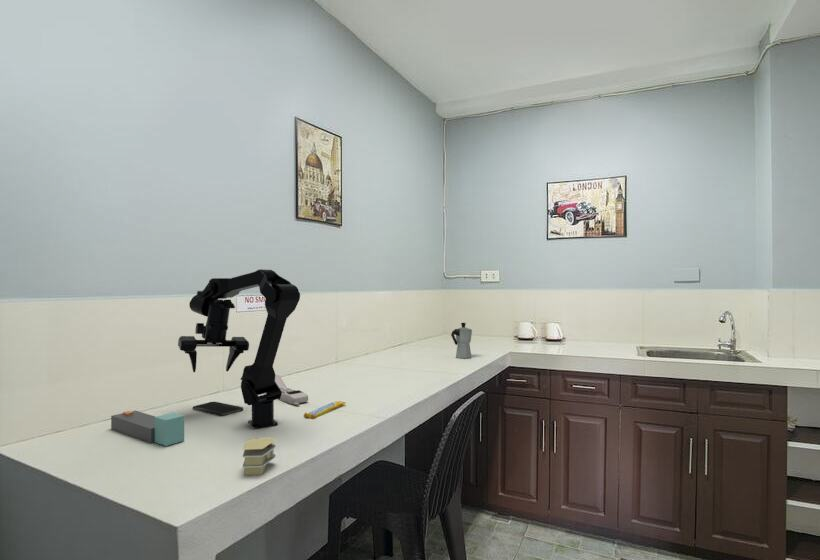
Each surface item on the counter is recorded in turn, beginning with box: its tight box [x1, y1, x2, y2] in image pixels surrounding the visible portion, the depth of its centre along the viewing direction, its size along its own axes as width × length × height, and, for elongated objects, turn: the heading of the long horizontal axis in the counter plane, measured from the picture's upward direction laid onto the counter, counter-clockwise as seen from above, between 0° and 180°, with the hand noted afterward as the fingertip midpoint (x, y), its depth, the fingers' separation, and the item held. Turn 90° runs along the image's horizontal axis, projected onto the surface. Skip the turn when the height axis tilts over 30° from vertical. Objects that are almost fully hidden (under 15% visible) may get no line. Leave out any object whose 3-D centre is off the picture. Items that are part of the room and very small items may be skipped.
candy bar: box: [303, 400, 347, 419], centre depth 136 cm, size 17×4×2 cm, turn 155°
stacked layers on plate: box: [242, 436, 277, 476], centre depth 94 cm, size 10×9×6 cm
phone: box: [192, 401, 244, 417], centre depth 138 cm, size 8×1×15 cm
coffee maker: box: [450, 322, 473, 360], centre depth 235 cm, size 15×9×18 cm, turn 130°
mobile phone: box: [275, 374, 309, 407], centre depth 152 cm, size 6×6×25 cm
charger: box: [154, 412, 185, 447], centre depth 111 cm, size 8×4×6 cm, turn 56°
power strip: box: [110, 410, 156, 444], centre depth 117 cm, size 20×6×4 cm, turn 56°
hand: (210, 371), depth 136 cm, fingers open, 9 cm apart
